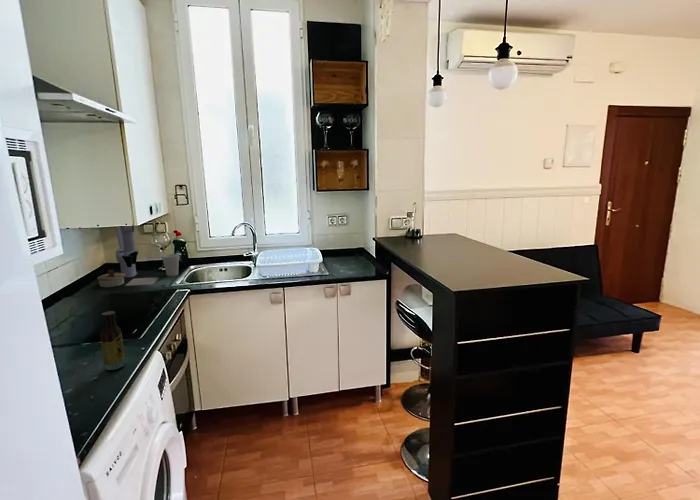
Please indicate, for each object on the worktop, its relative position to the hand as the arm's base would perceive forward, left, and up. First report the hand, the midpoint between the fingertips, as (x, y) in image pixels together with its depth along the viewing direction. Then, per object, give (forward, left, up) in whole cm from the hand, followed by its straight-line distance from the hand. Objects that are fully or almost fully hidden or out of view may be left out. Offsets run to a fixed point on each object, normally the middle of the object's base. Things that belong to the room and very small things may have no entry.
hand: (131, 265), depth 230 cm
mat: (+3, +6, -10) cm, 12 cm away
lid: (+5, -10, -5) cm, 12 cm away
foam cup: (-9, +20, -10) cm, 24 cm away
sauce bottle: (+110, +28, -10) cm, 114 cm away
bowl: (+5, -10, -10) cm, 15 cm away
